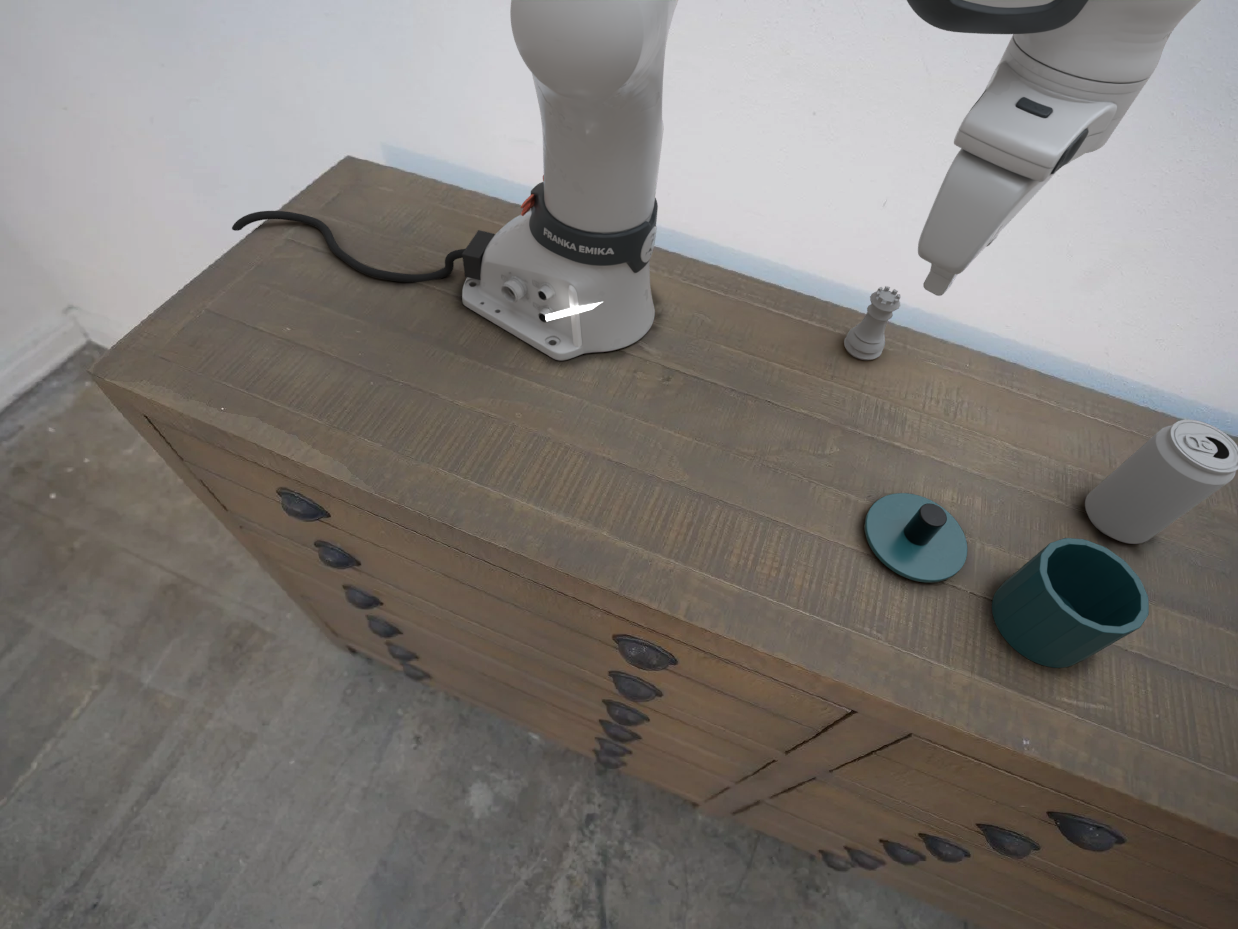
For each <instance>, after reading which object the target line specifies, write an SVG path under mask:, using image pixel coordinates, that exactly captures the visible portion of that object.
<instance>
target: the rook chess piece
mask: <svg viewBox="0 0 1238 929" xmlns="http://www.w3.org/2000/svg"><path fill="white" fill-rule="evenodd" d="M890 289H891V287H890V286H887V285H885V286H884V287H883V286H880V287H878V288H877V290H875V291H874V292H873V293H871V294H870V296H869V300H870V304H869V305H868V306H866V314H865V315H864V317H863V318H862V320H861V322H859V323H857V324H856V325H855V326H854V327H851V328H850V329H849V331H848V332H847V333H846V334H847V335H845V338H844V339H843V343H844V347H845V349H846V352H847V353H848V354H849V355H850V356H852V357H853V358H855V359H857V360H860V361H872V360H875V359H877V358H879V357H880V356H881V355H882V353H883V351H884V348H885V345H886V335H885V331H886V327H887V324H888V322H889V320H891V319H892V318H893V316H894V314H893V312H895V311H897V310H899V309H900V307H901V301H900V299H901V294H899V290H897V289H896V288H894V289H892V291H891V290H890Z"/></svg>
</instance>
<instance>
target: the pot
mask: <svg viewBox="0 0 1238 929" xmlns="http://www.w3.org/2000/svg"><path fill="white" fill-rule="evenodd" d="M1149 606H1150V605H1149V595H1148V593H1147V591H1146V589H1145V586H1144V584H1143V582H1142V580H1141V578H1140V576H1139V575H1138V574H1137V573H1136V572H1135V571H1134V570H1133V568H1132V567H1131V566H1130V565H1129V564H1128V562H1126V560H1125V559H1123V558H1121V557H1120V556H1118V555H1117V554H1116V553H1115V552H1113V551H1112V550H1110V549H1109V548H1107V547H1106V546H1103V545H1101V544H1098V543H1095V542H1093V541H1090V540H1088V539H1084V538H1072V537H1064V538H1061V539H1057V540H1054V541H1052V542H1050V543H1048V544H1047V545H1046V546H1044V548H1042V549H1041V550H1039V552H1037V554H1035V555H1034V556H1033V557H1031V558H1030V559H1029V560H1028V561H1027V562H1026V563H1025V564H1023V566H1021V567H1020V568H1019V569H1018V570H1016V572H1014V573H1013V574H1011V576H1009V578H1007V579H1006V580H1005V581H1004V582H1003V583H1002V584H1001V585H999V587H998V588H997V589H996V591H995V593H994V594H993V597H992V601H991V611H992V612H991V613H992V616H993V617H992V618H993V621H994V624H995V626H996V627H997V630H998V631H999V633H1000V634H1001V636H1002V637H1003V639H1004V640H1005V641H1006V642H1007V643H1008V644H1009V646H1010V647H1012V648H1013V649H1014V650H1015V651H1016V652H1017V653H1019V654H1020V655H1021V656H1023V657H1024V658H1025V659H1028V660H1029V661H1032V662H1034V663H1035V664H1038V665H1041V666H1043V667H1047V668H1054V669H1058V668H1059V669H1063V668H1069V667H1072V666H1074V665H1076V664H1078V663H1081V662H1083V661H1085V660H1087V659H1088V658H1090V657H1092V656H1094V655H1096V654H1097V653H1099V652H1100V651H1103V650H1104V649H1106V648H1107V647H1109V646H1111V645H1113V644H1114V643H1117V642H1118V641H1119V640H1121V639H1123V638H1125V637H1127V636H1128V635H1130V634H1132V633H1133V632H1134V633H1135V631H1137V630H1139V629H1140V628H1142V626H1143V625H1144V623H1145V621H1146V620H1147V618H1148V616H1149V613H1150V608H1149Z"/></svg>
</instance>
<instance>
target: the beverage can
mask: <svg viewBox="0 0 1238 929" xmlns="http://www.w3.org/2000/svg"><path fill="white" fill-rule="evenodd" d="M1237 471H1238V445H1237V443H1236V442H1235V440H1233V438H1231V437H1230V436H1229V435H1228V434H1227V433H1225V432H1224V431H1222V430H1221V429H1219V428H1218V427H1216V426H1214V425H1211V424H1210V423H1206V422H1204V421H1201V420H1197V419H1181V420H1178V421H1176V422H1174V423H1173V424H1172V425H1166V426H1164V427H1162V428H1160V429H1159V430H1158V431H1157V432H1156V433H1155V434H1153V436H1151V437H1150V438H1149V439H1148V440H1147V441H1146V442H1144V444H1142V445H1141V446H1140V447H1139V448H1138V449H1137V450H1136V451H1135V452H1134V453H1132V454H1131V455H1130V456H1129V457H1127V459H1126V460H1124V461H1123V462H1122V463H1121V464H1120V465H1119V466H1118V467H1116V468H1115V469H1114V470H1113V471H1112V472H1111V473H1110V474H1109V475H1108V476H1106V478H1104V479H1103V480H1102V481H1101V482H1100V483H1099V484H1097V485H1096V486H1095V487H1094V488H1093V489H1092V490H1091V491H1089V493H1088V494H1087V495H1086V497H1085V500H1084V507H1085V511H1086V514H1087V516H1088V519H1089V521H1090V522H1091V523H1092V525H1093V526H1094V527H1095V529H1097V530H1098V531H1099V532H1101V533H1102V534H1103V535H1105V536H1108V537H1109V538H1112V539H1113V540H1116V541H1119V542H1122V543H1124V544H1131V545H1138V544H1143V543H1146V542H1148V541H1150V540H1151V539H1152V538H1154V537H1155V536H1156V535H1158V534H1159V533H1160V532H1162V531H1163V530H1165V529H1167V527H1169V526H1170V525H1172V524H1173V523H1174V522H1176V521H1177V520H1178V519H1180V518H1181V517H1183V516H1184V515H1185V514H1188V513H1189V512H1190V511H1191V510H1192V509H1194V508H1196V507H1197V506H1198V505H1199V504H1201V503H1202V502H1204V501H1205V500H1206V499H1208V498H1210V497H1211V496H1212V495H1214V494H1215V493H1216V492H1218V491H1219V490H1220V489H1222V488H1223V487H1224V486H1226V485H1227V484H1229V483H1231V481H1232V480H1234V478H1235V476H1236V473H1237Z"/></svg>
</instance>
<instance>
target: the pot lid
mask: <svg viewBox="0 0 1238 929" xmlns="http://www.w3.org/2000/svg"><path fill="white" fill-rule="evenodd" d="M864 533H865V534H864V535H865V537H866V538H865V539H866V541H867V543H868V545H869V548H870V550H872V552H873V553H874V555H875V556H876V558H877V559H879V561H880V562H881V563H882V564H884V566H885V567H887V568H888V569H890V570H891V571H892V572H894V573H895V574H897V575H899V576H901V577H903V578H906V579H909V580H911V581H915V582H920V583H926V584H927V583H928V584H929V583H930V584H933V583H940V582H944V581H947V580H949V579H951V578H952V577H954V576H956V575H957V574H958V572H959V571H961V570H962V568H963V567H964V566H965V563H966V561H967V558H968V542H967V538H966V535H965V533H964V531H963V528H962V527H961V525H960V523H959V522H958V521H957V519H955V517H954V516H953V515H952V514H951V513H950V512H949V511H947V509H946V508H944V507H943V506H942V505H940V504H938V503H937V502H935V501H933V500H931V499H929V498H927V497H925V496H921V495H919V494H914V493H909V492H908V493H907V492H896V493H890V494H887V495H885V496H883V497H881V498H879V499H877V500H876V501H875V502H874V503H873V504H872V505H871V506H870V508H869V509H868V511H867V513H866V515H865V519H864Z"/></svg>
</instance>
